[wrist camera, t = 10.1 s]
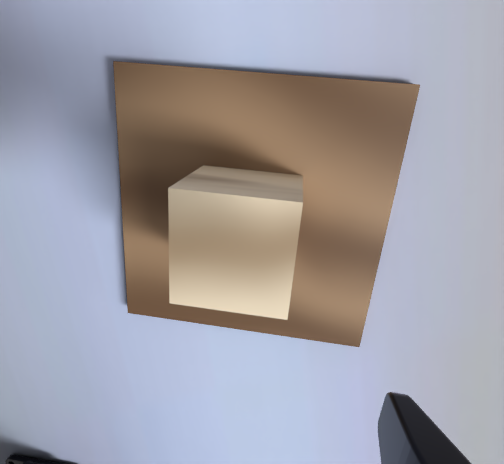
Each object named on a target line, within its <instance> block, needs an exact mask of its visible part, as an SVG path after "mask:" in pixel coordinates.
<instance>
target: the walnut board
mask: <svg viewBox="0 0 504 464" xmlns="http://www.w3.org/2000/svg"><path fill="white" fill-rule="evenodd" d="M113 66H114V83H115V100H116V117H117V134H118V152H119V169H120V186H121V203H122V220H123V238H124V255H125V272H126V289H127V306H128V313H133V314H140V315H146V316H153V317H160V318H167V319H173V320H180V321H187V322H193V323H200V324H207V325H214V326H220V327H227V328H234V329H241V330H247V331H254V332H261V333H268V334H274V335H281V336H288V337H295V338H301V339H308V340H315V341H321V342H328V343H335V344H342V345H348V346H355V347H359V346H360V342H361V337H362V333H363V329H364V324H365V320H366V316H367V312H368V307H369V303H370V299H371V294H372V290H373V286H374V281H375V277H376V273H377V268H378V264H379V260H380V256H381V251H382V247H383V243H384V238H385V234H386V230H387V225H388V221H389V217H390V213H391V208H392V204H393V200H394V195H395V191H396V187H397V182H398V178H399V174H400V169H401V165H402V161H403V157H404V152H405V148H406V144H407V139H408V135H409V131H410V126H411V122H412V118H413V113H414V109H415V105H416V101H417V96H418V92H419V88H420V85H417V84H404V83H390V82H377V81H364V80H351V79H338V78H325V77H312V76H299V75H286V74H273V73H260V72H247V71H234V70H221V69H208V68H195V67H182V66H169V65H156V64H143V63H130V62H117V61H113ZM203 165H204V166H214V167H224V168H234V169H244V170H254V171H264V172H273V173H283V174H293V175H303V207H302V215H301V222H300V230H299V237H298V245H297V252H296V260H295V267H294V275H293V282H292V290H291V297H290V305H289V312H288V319H287V320H284V319H277V318H270V317H263V316H255V315H248V314H241V313H234V312H227V311H220V310H213V309H206V308H199V307H192V306H185V305H178V304H171V303H169V212H168V188H169V187H170V186H172V185H174V184H175V183H177V182H178V181H180V180H181V179H183V178H184V177H186V176H188V175H189V174H191V173H192V172H194V171H195V170H197V169H199V168H200V167H202V166H203Z"/></svg>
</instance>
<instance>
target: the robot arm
mask: <svg viewBox="0 0 504 464" xmlns="http://www.w3.org/2000/svg"><path fill="white" fill-rule="evenodd" d="M378 437H379V446H380V455H381V464H471V463H470V462H469V460H468V459H467V458H466V457H465V456H464V455H463V454H462V453H461V452H460V451H459V450H458V448H457V447H456V446H455V445H454V444H453V443H452V442H451V441H450V440H449V439H448V438H447V437H446V435H445V434H444V433H443V432H442V431H441V430H440V429H439V428H438V427H437V426H436V425H435V423H434V422H433V421H432V420H431V419H430V418H429V417H428V416H427V415H426V414H425V413H424V411H423V410H422V409H421V408H420V407H419V406H418V405H417V404H416V403H415V402H414V401H413V400H412V398H410V397H409V396H408V395H405V394H399V393H393V392H389V393H387V395H386V396H385V399H384V403H383V406H382V410H381V413H380V417H379V421H378ZM6 464H59V463H54V462H49V461H44V460H39V459H34V458H29V457H24V456H18V455H10V456H9V458H8V459H7V460H6Z"/></svg>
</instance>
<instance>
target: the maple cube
mask: <svg viewBox="0 0 504 464" xmlns="http://www.w3.org/2000/svg"><path fill="white" fill-rule="evenodd" d="M302 207H303V175H293V174H283V173H273V172H264V171H254V170H244V169H234V168H224V167H214V166H204V165H203V166H202V167H200V168H199V169H197V170H195V171H194V172H192V173H191V174H189V175H188V176H186V177H184V178H183V179H181V180H180V181H178V182H177V183H175V184H174V185H172V186H170V187H169V188H168V212H169V303H171V304H178V305H185V306H192V307H199V308H206V309H213V310H220V311H227V312H234V313H241V314H248V315H255V316H263V317H270V318H277V319H284V320H287V319H288V312H289V305H290V297H291V290H292V282H293V275H294V267H295V260H296V252H297V245H298V237H299V230H300V222H301V215H302Z"/></svg>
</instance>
